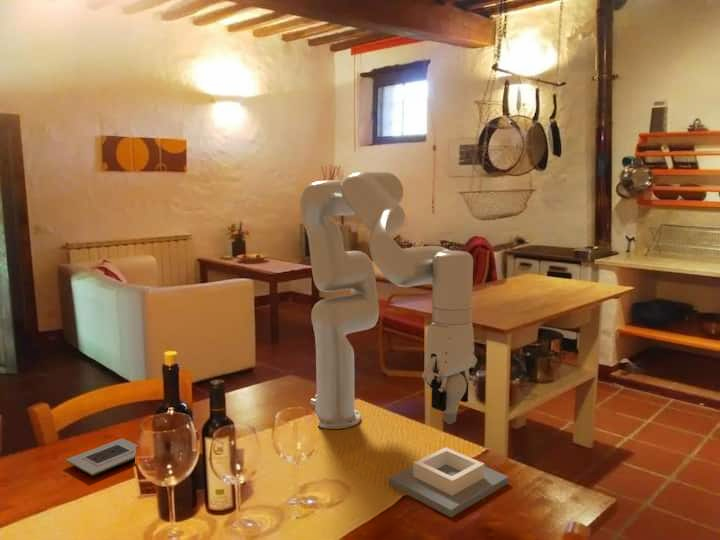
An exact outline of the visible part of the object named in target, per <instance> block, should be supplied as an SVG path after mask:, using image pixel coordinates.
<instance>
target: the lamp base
mask: <svg viewBox="0 0 720 540" xmlns="http://www.w3.org/2000/svg"><path fill="white" fill-rule="evenodd" d="M412 463H413V465H412V466H410V467H408V468H406V469H403V470H401V471H400V472H397V473H395V474H393V475H391V476H389V477H388V485H389V486H391V487H392V488H394V489H397V490H399V491H400V492H402V493H404V494H406V495H407V496H409V497H411V498H414V499H415V500H417V501H419V502H421V503H422V504H423V505H424V504H425V505H426V506H428V507H430V508H432V509H434V510H436V511H438V512H440V513H441V514H444V515H446V516H447V517H449V518H452V517H454V516H456V515H458V514H459V513H461V512H463V511H464V510H466V509H467V508H469V507H471V506H473V505H475V504H477V503H478V502H480V501H481V500H483V499H485V498H486V497H488V496H489V495H492V494H493V493H495V492H497V491H499V489H501V488H504V487H505V486H506V485H508V484H509V476H508V475H506V474H503V473H501V472H499V471H496V470H494V469H492V468H490V467H487V466H485V463H484V462H482V461H479V460H477V459H474V458H473V457H469V456H467V455H465V454H463V453H461V452H458V451H456V450H454V449H451V448H449V447H446V446H445V447H443V448H441V449H439V450H436V451H434V452H433V453H430V454H428V455H426V456H424V457H422V458H420V459H418V460H415V461H413V462H412Z"/></svg>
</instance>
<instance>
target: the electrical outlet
mask: <svg viewBox="0 0 720 540" xmlns="http://www.w3.org/2000/svg"><path fill="white" fill-rule="evenodd" d="M136 447H137V444H136V443H134V442H132V441H129V440H128V439H125V438H119V439H116V440H112V441H111V442H108V443H104V444H103V445H99V446H98V447H95V448H92V449H90V450H87V451H85V452H82V453H80V454H77V455H74V456H71V457H69V458H66V459H65V461H66V462H67V463H69V464H71V465H72V466H74V467H76V468H78V469H79V470H81V471H83V472H85V473H86V474H89V475H90V476H92V477H95V476H98V475H100V474H102V473H105V472H107V471H109V470H113V469H114V468H117V467H119V466H122V465H124V464H126V463H129V462H131V461H134V460H135V459H134V458H135V454H136ZM133 459H134V460H133Z"/></svg>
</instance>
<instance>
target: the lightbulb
mask: <svg viewBox="0 0 720 540" xmlns="http://www.w3.org/2000/svg"><path fill="white" fill-rule="evenodd" d="M440 380H441V378H440V377H438V379H437V381H438V382H439V383H440ZM466 386H467V384H466V380H465V378H464V376H463V375H462V374H461V373H457V374H454V375H451V376H448V377H447V381H446V385H445V389H444V391H446V411H442V419H443V421H444V422H445V423H446V424H447V425H452V424H453V423H455V422H456V421H457V413H458V411H459V407H460V406H459V405H460V402H461V401H460V400H461V398H462V397H463V395H464V393H465V391H466Z"/></svg>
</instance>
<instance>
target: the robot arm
mask: <svg viewBox="0 0 720 540" xmlns="http://www.w3.org/2000/svg"><path fill="white" fill-rule="evenodd" d="M403 197H404V187H403V185H402V182H401V180H400V179H399V178H398V176H397V175H395V174H394V173H391V172H389V171H388V172H386V171H363V172H362V171H359V172H353V173H352V174H350V175H348V176H347V177H346V178H344V180H338V179H335V180H333V179H330V180H319V181H315V182H312V183H310V184H308V185H307V186H306V187H304V189H303V191H302V194H301V196H300V205H299V206H300V207H299V209H300V216H301V219H302V223H303V226H304V228H305V231H306V235H307V238H308V247H309V256H310V264H311V265H310V266H311V272H312V277H313V278H312V279H313V283H314V286H315V287H316V289H317V290H318V291H320V292H324V293H325V292H326V293H327V292H328V293H329V292H339V291H346V290H350V291H349V292H350V294H345V295H336V296H330V297H326V298H323V299H320V300H318V302H316V303H315V304H314V305H313V307H312V310H311V314H310V317H311V319H310V320H311V323H312V329H313V334H314V340H315V341H314V342H315V363H316V365H315V367H316V373H315V374H316V394H315V395H314V397H313V398H311V399H310V400H309V401H310V402H309V403H310V404H311V405H313V406H314V409H315V410H314V411H313V412H315V413H316V414H317V416H318V421H319V426H318V427H319V428H323V429H329V430H341V429H348V428H352V427H354V426H355V425H358V424H359V422H360V421H361V417H362V416H361V413H360V411H359V410H358V409H355V407H356V406H355V351H354V348H353V345H352V344H351V342H350V341H349V340H348V338H347V335H349V334H352V333H353V334H354V333H357V332H358V333H359V332H362V331H367V330H371V329H372V328H374V327H375V326H376V325H377V324H378V323H377V322H378V321H379V316H380V315H379V314H380V307H379V299H378V297H379V296H378V290H377V282H376V273H375V272H376V271H375V267H374V265H375V266H376V268H377V269H378V270H379V271H380V272H381V274H382V275H384V277H385V278H386V279H387V280H388V281H389V282H390V283H391V284H392V285H395V286H397V287H401V288H410V287H416V286H421V285H423V286H424V285H431V284H432V304H431V305H432V306H431V307H432V309H431V311H432V313H431V316H432V317H431V323H429V327H428V329H427V335H426V342H425V350H424V351H425V353H424V354H425V355H424V371H423V372H422V374H421V379H423V380H424V381H425V382H426V384H427V385H428V386H429V389H431V408H433V409H435V410H438V411H440V412H443V411H446V391H444V389H445V385H446V381H447V377H448V376H451V375H454V374H457V373H461V374H462V375H463V376H464V378H465V380H466V384H467V386H466V391H465V393H464V395H463V397H462V398H461V400H460V402H463V403H467V402H469V383H470V381H471V379H472V378H471V375H472V373H473V372H474V368H475V367H476V364H477V362H478V358H477V357H476V355H475V338H474V327H473V321H472V316H473V284H474V283H473V276H474V258H473V256H472V254H471V253H469V252H468V251H463V250H452V249H449V248H446V247H443V246H439V245H428V246H417V247H415V246H414V247H406V248H402V247H401V246H400V245H399V244H398V243H397V242H396V241H395V240H394V239H393V236H394V235H396V234H397V232H399V231H400V229H401V228H402V227H403V224H404V223H405V219H406V214H405V211H404V209H403V207H402V206H401V205H400V203H401V201H402V200H403ZM335 216H336V217H337V216H338V217H339V216H356V217H357V218H358V219H359V220H360V222H361V223H362V224H363V225H364V226H365V227H366V229H367V230H368V231H369V232H370V233H369V240H368V244H369V245H368V246H369V252H370V256H371V258H370V257H369V256H368V254H366V253H365V252H363V251H361V250H347V251H346V250H345V247H344V246H345V245H344V238H343V236H344V235H343V233H342V231H341V229H340V227H339V226H338V224H337V223H336V222H335V221H334V220H333V218H332V217H335ZM371 259H372V260H371ZM372 261H373V262H372ZM373 263H374V265H373ZM438 377H440V378H441V380H440V383H439V382H438V381H437V379H438Z"/></svg>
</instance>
